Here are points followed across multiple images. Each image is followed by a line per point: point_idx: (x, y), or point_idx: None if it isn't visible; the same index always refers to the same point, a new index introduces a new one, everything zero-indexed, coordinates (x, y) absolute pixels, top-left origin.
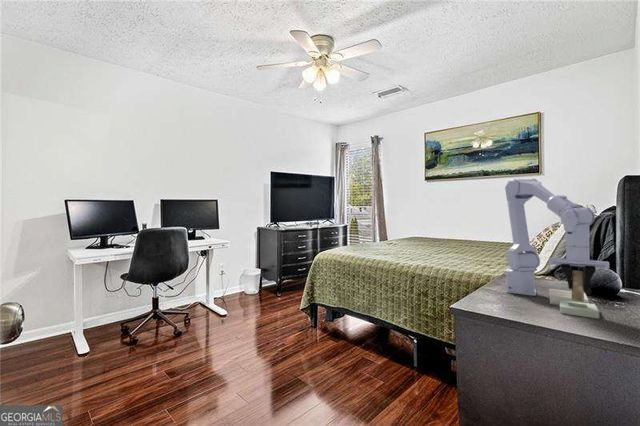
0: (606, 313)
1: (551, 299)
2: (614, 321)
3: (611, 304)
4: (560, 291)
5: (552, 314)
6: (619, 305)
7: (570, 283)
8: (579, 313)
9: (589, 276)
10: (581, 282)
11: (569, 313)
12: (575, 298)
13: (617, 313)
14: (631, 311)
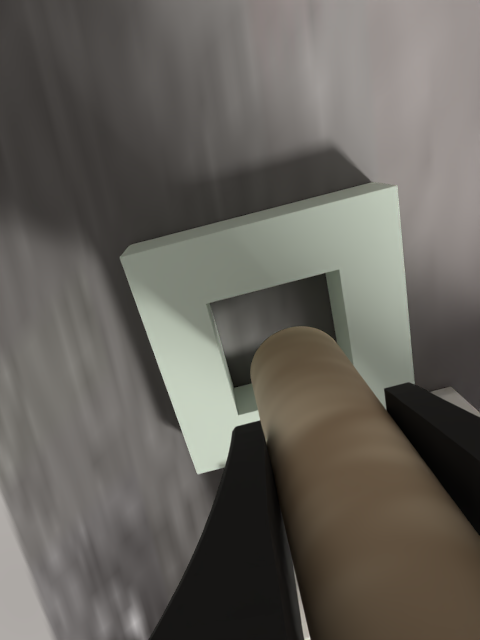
0: (129, 422)
1: (462, 408)
2: (37, 254)
3: (155, 622)
4: None
5: (423, 84)
6: (120, 630)
7: (441, 414)
8: (252, 217)
9: (198, 612)
10: (311, 483)
11: (316, 199)
12: (315, 335)
13: (82, 469)
14: (41, 563)
